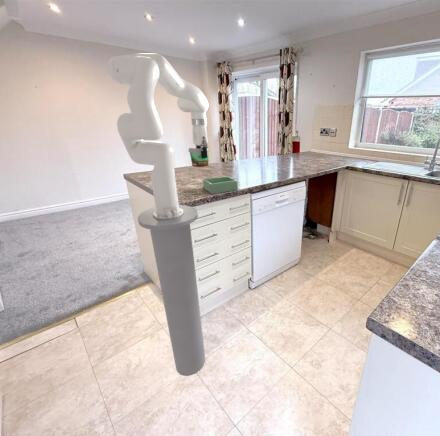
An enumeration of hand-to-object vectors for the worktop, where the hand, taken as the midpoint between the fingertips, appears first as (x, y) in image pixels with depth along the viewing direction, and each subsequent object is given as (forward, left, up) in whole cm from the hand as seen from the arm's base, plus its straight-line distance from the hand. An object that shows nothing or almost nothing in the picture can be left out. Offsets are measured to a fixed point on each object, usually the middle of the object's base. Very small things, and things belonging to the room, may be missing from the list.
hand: (202, 156), depth 137 cm
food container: (0, 0, -5) cm, 5 cm away
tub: (-2, -9, -20) cm, 22 cm away
